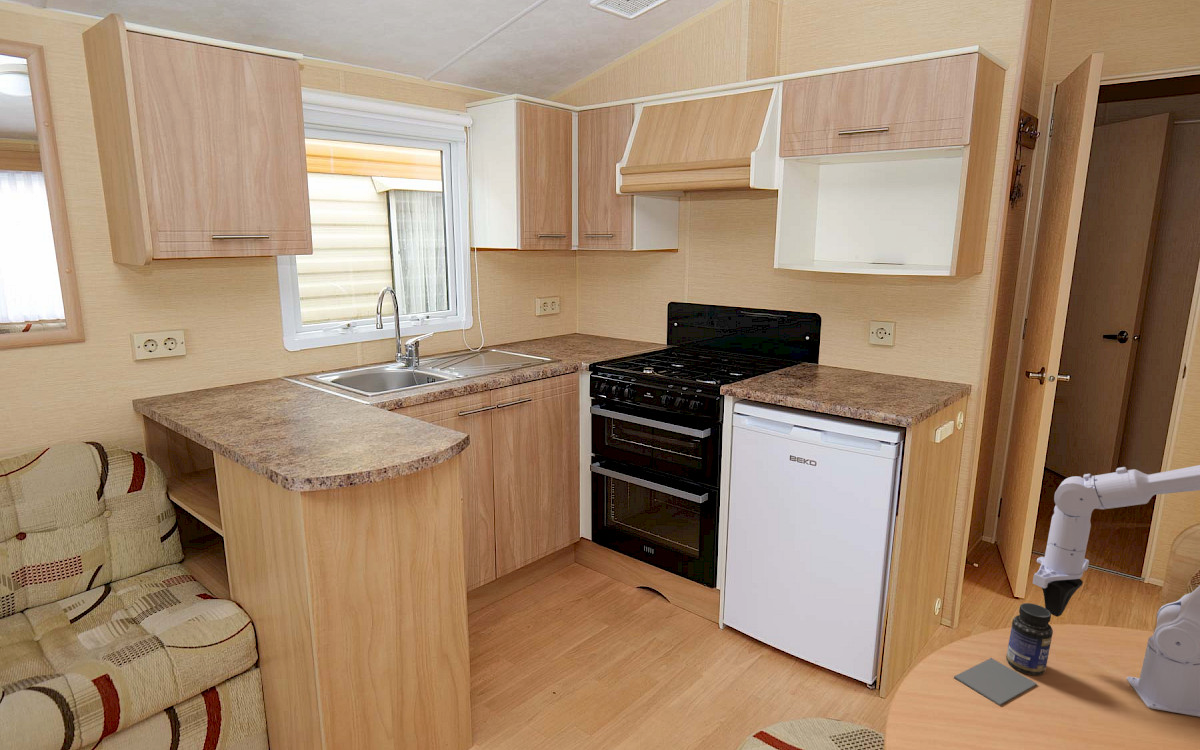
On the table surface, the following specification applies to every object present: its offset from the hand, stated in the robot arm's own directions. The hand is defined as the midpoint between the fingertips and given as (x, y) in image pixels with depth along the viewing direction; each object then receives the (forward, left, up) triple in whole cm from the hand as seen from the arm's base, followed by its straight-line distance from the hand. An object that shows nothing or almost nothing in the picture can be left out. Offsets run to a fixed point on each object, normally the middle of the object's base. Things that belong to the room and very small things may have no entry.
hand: (1053, 613), depth 126 cm
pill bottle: (+5, +5, -9) cm, 11 cm away
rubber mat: (+11, +11, -8) cm, 18 cm away
